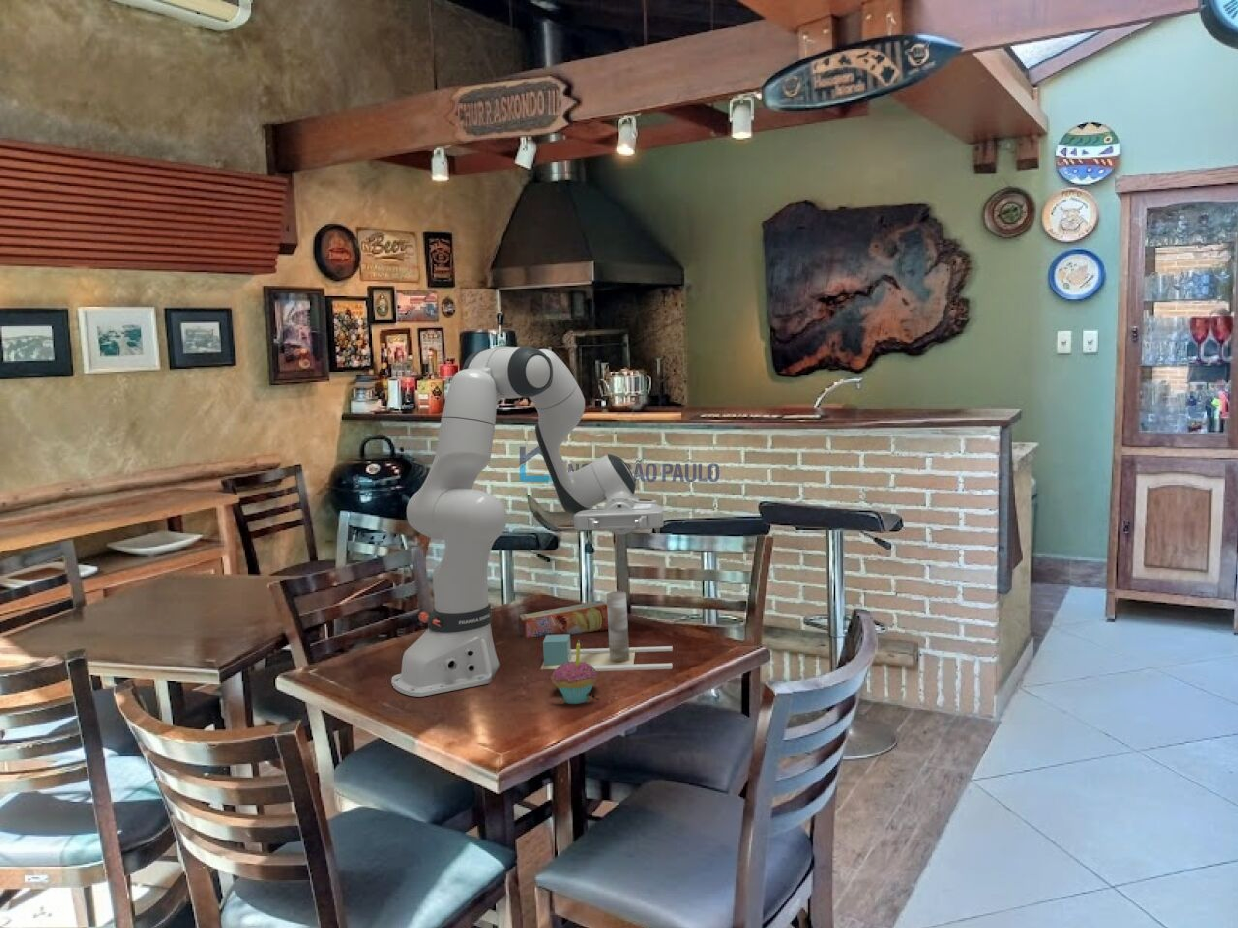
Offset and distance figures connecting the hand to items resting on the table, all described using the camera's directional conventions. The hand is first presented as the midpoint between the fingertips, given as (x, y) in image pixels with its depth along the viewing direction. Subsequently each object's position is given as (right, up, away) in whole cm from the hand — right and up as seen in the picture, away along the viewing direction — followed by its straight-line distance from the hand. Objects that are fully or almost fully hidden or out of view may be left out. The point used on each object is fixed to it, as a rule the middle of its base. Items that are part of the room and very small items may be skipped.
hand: (616, 524), depth 198 cm
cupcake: (-8, -31, -27) cm, 42 cm away
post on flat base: (-6, -29, -9) cm, 31 cm away
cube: (-12, -28, -8) cm, 32 cm away
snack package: (-12, -27, +16) cm, 34 cm away
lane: (+1, -29, -9) cm, 30 cm away
